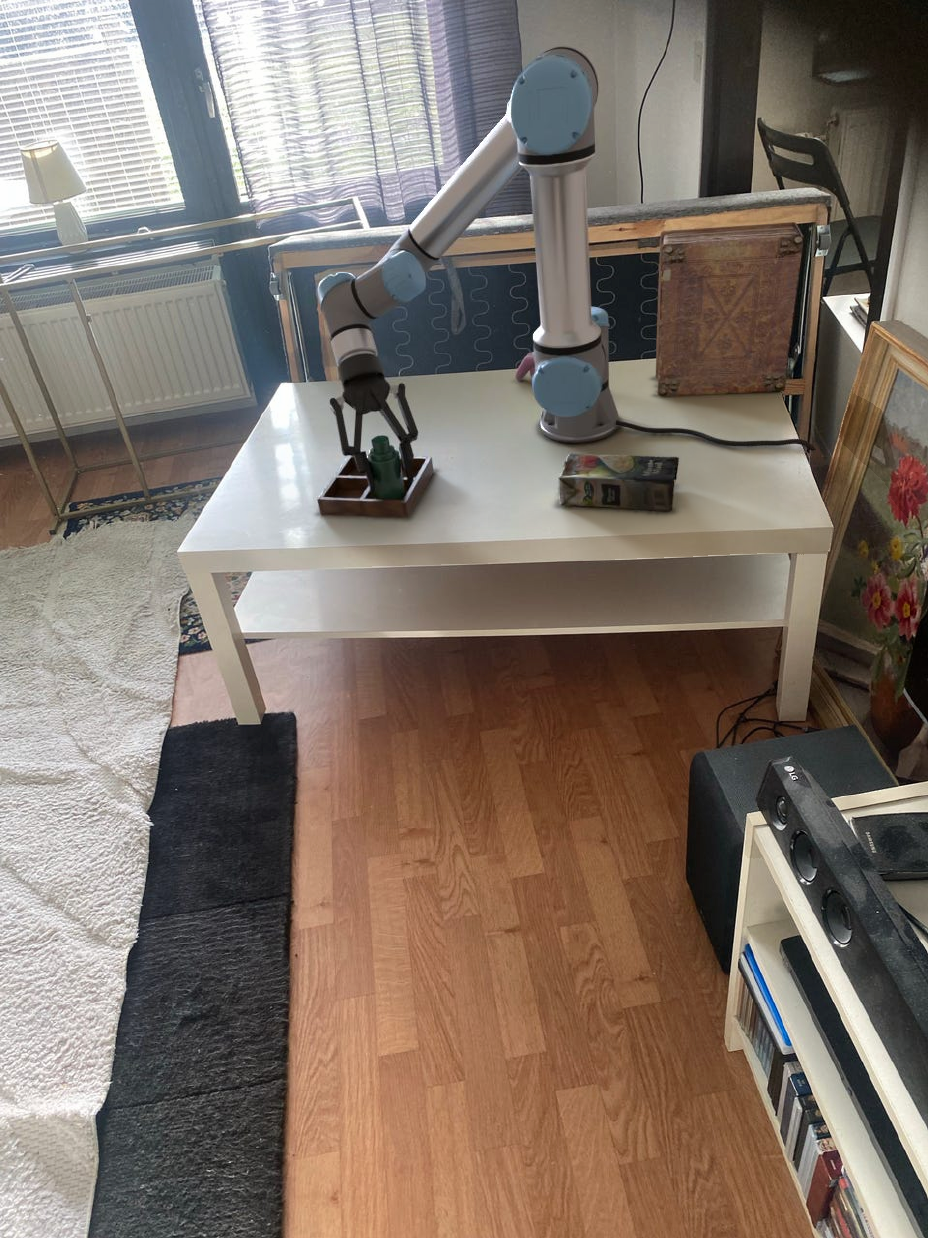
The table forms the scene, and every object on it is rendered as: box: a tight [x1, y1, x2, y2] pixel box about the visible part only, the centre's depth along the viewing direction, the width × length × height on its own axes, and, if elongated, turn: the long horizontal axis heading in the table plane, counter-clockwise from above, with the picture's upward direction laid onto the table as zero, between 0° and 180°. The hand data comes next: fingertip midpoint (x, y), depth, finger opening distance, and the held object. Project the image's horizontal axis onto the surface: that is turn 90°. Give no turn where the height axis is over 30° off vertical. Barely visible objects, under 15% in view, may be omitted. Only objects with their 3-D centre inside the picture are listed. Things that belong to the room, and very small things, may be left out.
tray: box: [316, 455, 434, 519], centre depth 165 cm, size 17×17×3 cm
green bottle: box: [367, 434, 407, 500], centre depth 158 cm, size 6×6×12 cm
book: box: [655, 221, 805, 397], centre depth 179 cm, size 25×9×30 cm, turn 81°
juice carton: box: [557, 453, 680, 512], centre depth 155 cm, size 20×10×6 cm, turn 74°
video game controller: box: [515, 351, 535, 381], centre depth 197 cm, size 10×5×7 cm, turn 47°
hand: (391, 484), depth 156 cm, fingers open, 6 cm apart
